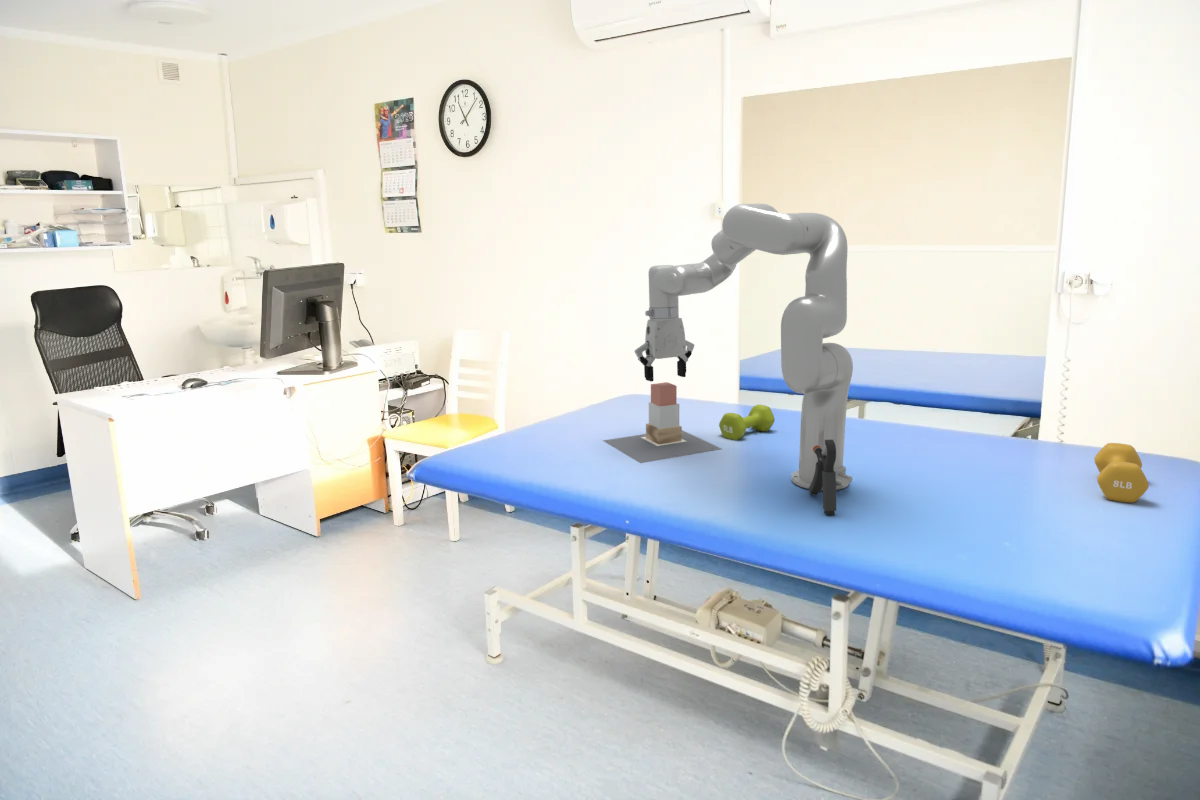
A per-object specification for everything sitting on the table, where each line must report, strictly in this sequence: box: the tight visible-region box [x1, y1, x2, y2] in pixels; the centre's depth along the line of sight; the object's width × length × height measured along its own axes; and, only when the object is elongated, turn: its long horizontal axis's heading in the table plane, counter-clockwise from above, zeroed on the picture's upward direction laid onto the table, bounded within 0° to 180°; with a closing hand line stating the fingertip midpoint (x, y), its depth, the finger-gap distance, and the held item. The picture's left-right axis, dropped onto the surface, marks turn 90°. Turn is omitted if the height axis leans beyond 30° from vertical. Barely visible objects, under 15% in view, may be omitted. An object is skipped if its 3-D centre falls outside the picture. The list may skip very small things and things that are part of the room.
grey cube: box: [648, 401, 680, 429], centre depth 207 cm, size 6×6×6 cm
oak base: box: [645, 422, 683, 444], centre depth 209 cm, size 7×7×4 cm
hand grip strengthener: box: [808, 440, 837, 516], centre depth 160 cm, size 2×12×15 cm, turn 2°
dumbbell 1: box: [718, 404, 775, 441], centre depth 213 cm, size 16×8×7 cm, turn 130°
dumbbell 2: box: [1094, 442, 1150, 504], centre depth 167 cm, size 19×9×8 cm, turn 150°
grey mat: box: [602, 430, 723, 464], centre depth 204 cm, size 22×24×1 cm
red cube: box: [650, 382, 678, 406], centre depth 206 cm, size 5×5×5 cm
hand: (665, 378), depth 205 cm, fingers open, 9 cm apart
